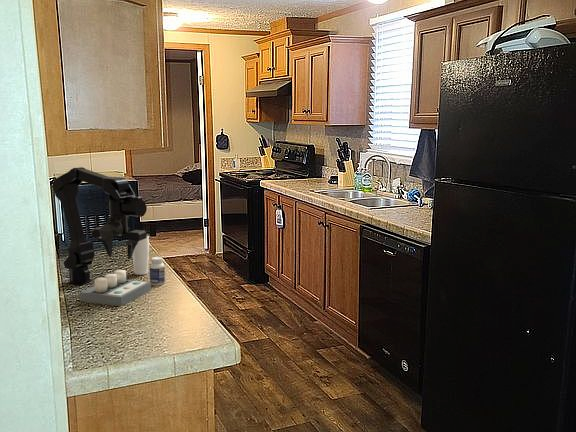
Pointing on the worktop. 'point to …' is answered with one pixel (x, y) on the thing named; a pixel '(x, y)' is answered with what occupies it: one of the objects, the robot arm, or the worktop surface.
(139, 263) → the white tall cylinder
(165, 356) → the worktop surface
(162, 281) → the pill bottle
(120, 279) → the button
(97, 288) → the button
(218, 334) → the worktop surface
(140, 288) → the button board
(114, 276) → the button
